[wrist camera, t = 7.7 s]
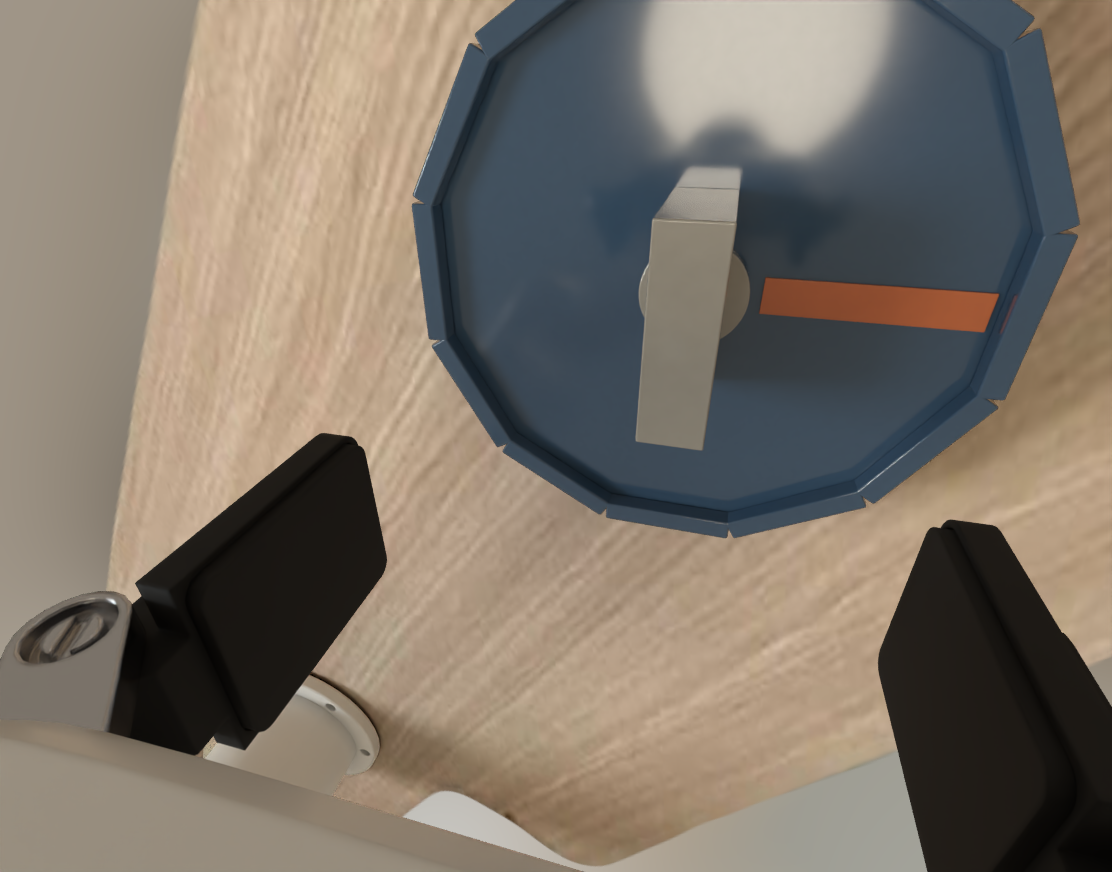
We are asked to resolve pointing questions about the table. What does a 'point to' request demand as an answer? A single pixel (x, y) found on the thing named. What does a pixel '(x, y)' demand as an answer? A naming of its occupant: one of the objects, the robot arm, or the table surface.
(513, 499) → the table surface
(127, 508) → the table surface
